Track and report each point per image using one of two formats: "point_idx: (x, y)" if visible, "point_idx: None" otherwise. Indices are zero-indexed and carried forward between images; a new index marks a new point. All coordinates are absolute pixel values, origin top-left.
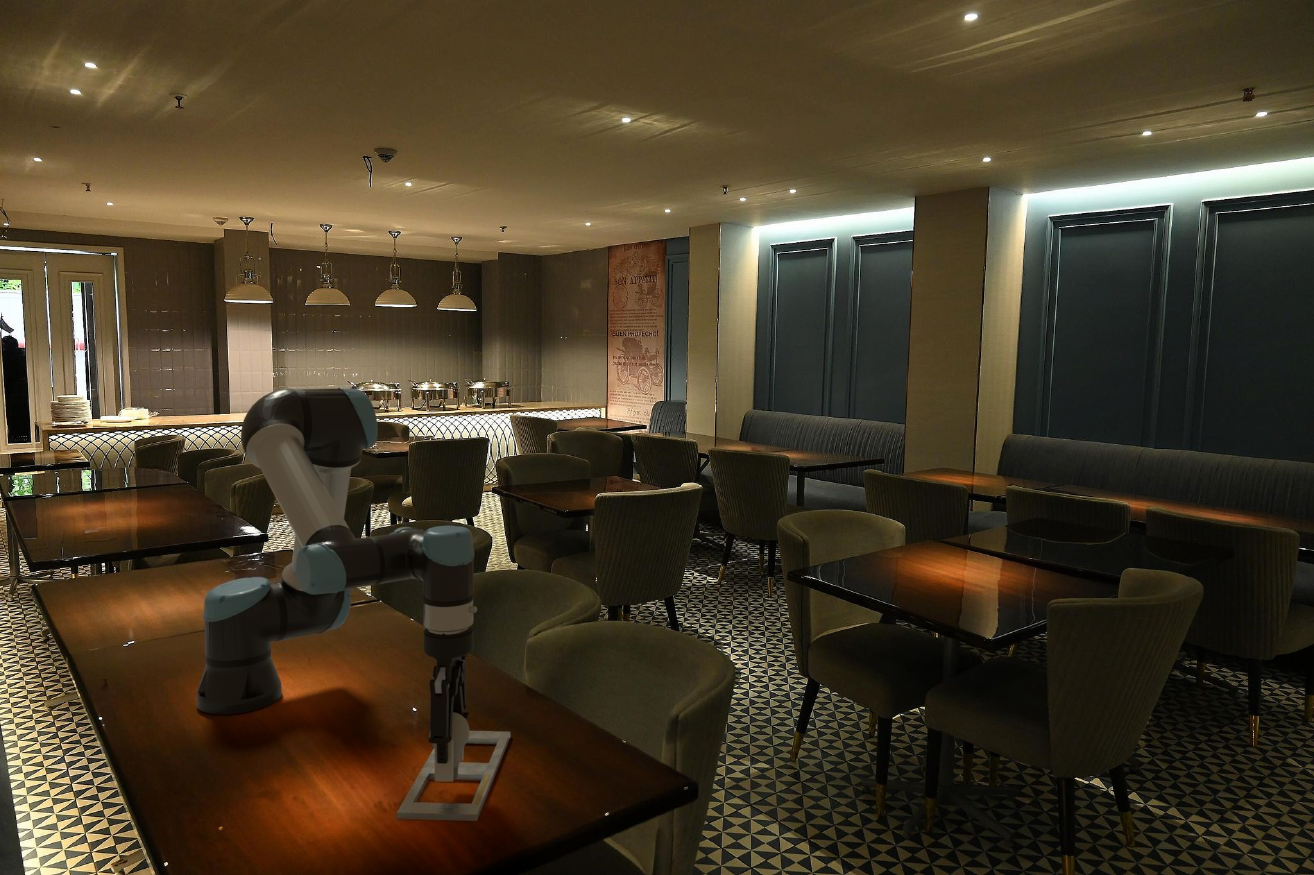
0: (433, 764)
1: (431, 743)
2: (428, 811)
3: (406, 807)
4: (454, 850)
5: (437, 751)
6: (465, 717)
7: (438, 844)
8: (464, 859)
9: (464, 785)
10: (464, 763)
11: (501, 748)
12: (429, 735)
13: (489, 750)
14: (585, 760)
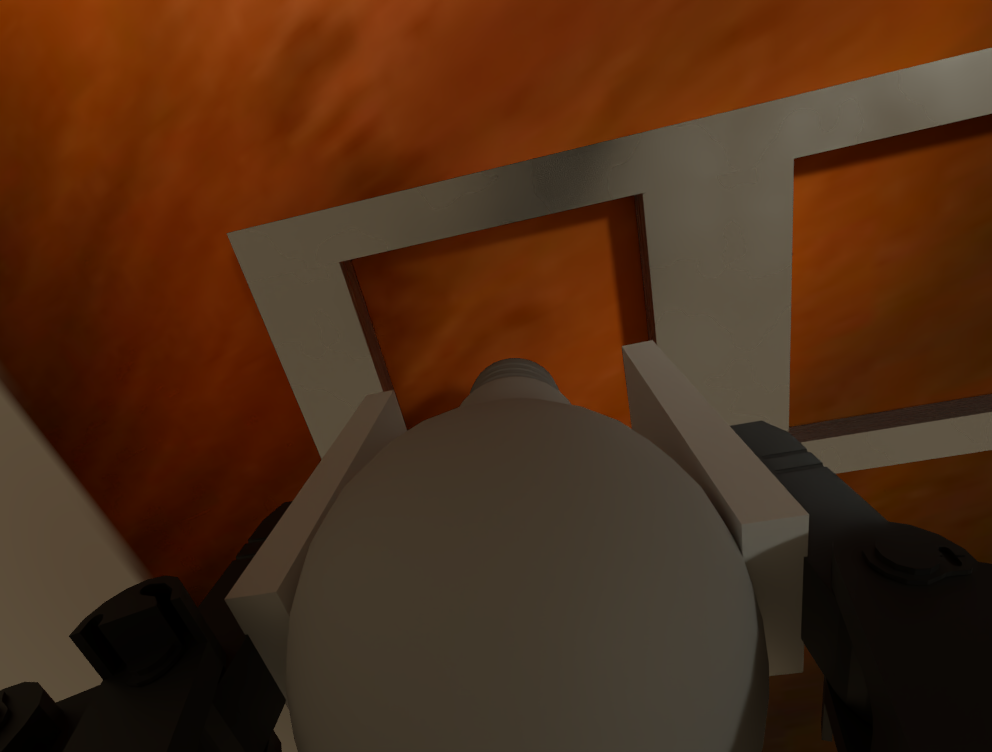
0: (755, 165)
1: (6, 694)
2: (299, 372)
3: (285, 257)
4: (182, 526)
5: (222, 582)
6: (822, 725)
7: (182, 469)
8: (160, 567)
9: (605, 388)
10: (778, 335)
11: (954, 446)
12: (395, 448)
13: (979, 363)
14: None
